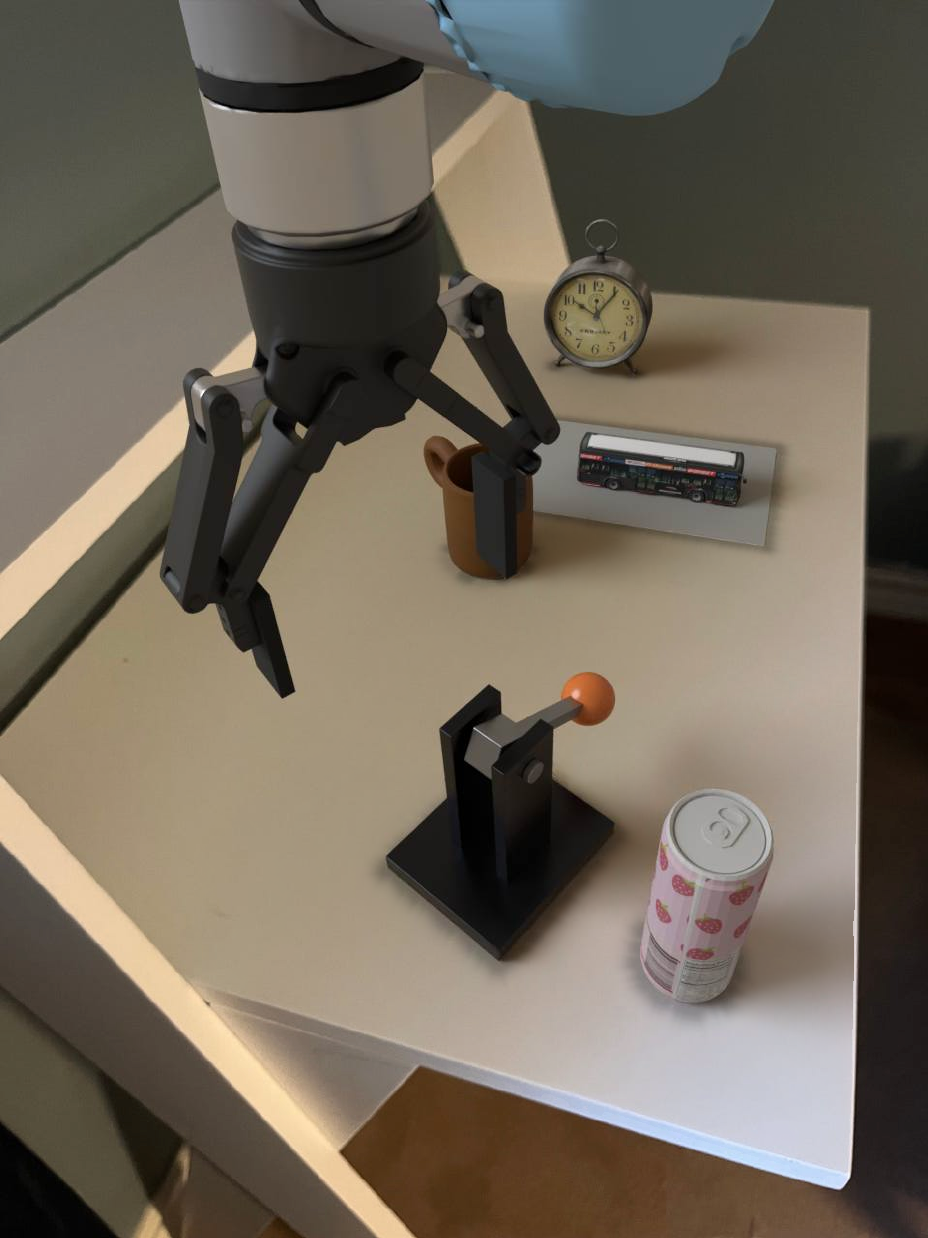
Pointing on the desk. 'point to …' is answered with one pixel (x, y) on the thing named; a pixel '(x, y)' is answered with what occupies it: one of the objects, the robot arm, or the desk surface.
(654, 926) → the beverage can
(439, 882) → the switch bracket
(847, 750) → the desk surface
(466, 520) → the mug
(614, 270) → the alarm clock
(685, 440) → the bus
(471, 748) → the switch lever
